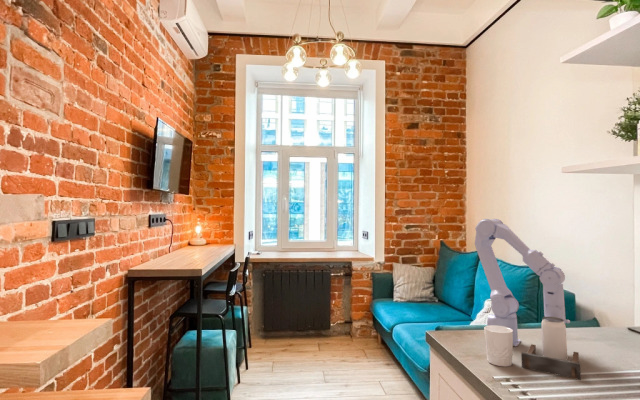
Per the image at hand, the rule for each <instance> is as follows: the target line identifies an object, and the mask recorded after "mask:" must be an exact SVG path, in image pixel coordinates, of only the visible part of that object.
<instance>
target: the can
mask: <svg viewBox="0 0 640 400" xmlns="http://www.w3.org/2000/svg"><path fill="white" fill-rule="evenodd" d="M540 325H541V345H542V346H541V347H542V356H545V357H550V358H555V359H561V360H566V361H568V343H567V342H568V341H567V325H566V323H565V324H564V320H563V319H561V318H557V317H545V316H543V317H542V321H541V324H540ZM565 325H566V326H565Z"/></svg>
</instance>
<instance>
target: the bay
mask: <svg viewBox="0 0 640 400" xmlns="http://www.w3.org/2000/svg"><path fill="white" fill-rule="evenodd" d="M579 358H580V357H579V352H577V351H573V354H572V359H571V361H570V360H561V359H555V358H550V357H545V356H543V355H540V354H538V355H537V346H536V344H532V343H531V344H530V346H529V348H528V350H527V352H523V351H522V352H521V368H524V369H529V370H532V371H538V372H543V373H548V374H553V375H556V376H560V377H567V378H570V379H576V380H580V381H581V380H582V374H581V373H582V372H581V362H580V359H579Z"/></svg>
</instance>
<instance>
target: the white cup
mask: <svg viewBox="0 0 640 400" xmlns="http://www.w3.org/2000/svg"><path fill="white" fill-rule="evenodd" d="M483 330H484V331H483V332H484V341H485V342H484V343H485V350H486V359H487V362H488V363H489V364H491V365H494V366H499V367H511V366H512V365H513V351H514V350H513V348H514V346H513V330H512V329H510V328H508V327H504V326H496V325H489V326H487V325H486V326H484V327H483Z"/></svg>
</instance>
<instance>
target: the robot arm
mask: <svg viewBox="0 0 640 400" xmlns="http://www.w3.org/2000/svg"><path fill="white" fill-rule="evenodd" d="M474 239H475V240H474V246H475V249H476V252H477V255H478V257H479V260H480V264H481V265H482V269H483V270H484V271H483V272H484V274H485V277H486V280H487V282H488V286H489V289H490V290H491V291H490V298H489V299H490V303H491V305H490V309H491V311H492V312H493V314H488V315H487V322H486V323H487V324H486V326H489V325H496V326H504V327H508V328H510V329H512V330H513V347H518V346H519V344H520V343H521V341H522V340H521V339H520V338H519V337H518V336H519V334H518V333H519V332H518V316H517V313H516V312H518V310H519V309H520V304H519V303H520V302H519V301H518V300H517V299H516V298H515V296H514V295H513V293H512V291H511V290H510V289H509V288H508V286H507V284H506V282H505V280H504V277H503V274H502V273H503V272H502V271H501V269H500V266H499V263H498V260H497V258H496V255H495V253H494V250H493V247H492V245H493V243H494V242H495V240H496V239H500V240H504V241H505V242H506V243H507V244H508V245H510V247H512V248H513V249H514V250H515V251H517V253H519V255H521V256H522V262H523V263H524V264H525V265H527V267H529V268H530V269H531V271H533V272H534V273H535V274H536V275H537V276H538V277H539V281H540V283H542V286H543V287H542V289H543V290H542V292H543V293H542V294H543V310H544V311H543V313H544V314H543V315H544V317H557V318H561V319H563V320H564V324H565V326H566V327H567V325H566V324H570V323H571V320H569V319H566V307H565V305H566V304H565V292H564V291H565V290H564V282H565V280H566V275H565V273H564V272H563V271H562V269H561V268H560V267H557V266H556V265H555V264H554V263H553V262H552V263H551V262H550V261H549V260H548V259H547V258H546V257H544V253H543V252H542V251H538V250H537V249H530V247H528V246H527V244H525V242H524V241H522V240H521V238H520V237H519V236H517V234H516V233H515V232H514V231H513V230H512V229H511V228H510V227H509V226H508V225H507V224H505V223H504V222H503V221H502V220H501V219H498V218H491V219H489V218H483V219H481V220H479V222H478V223H477V224H476V226H475V238H474Z"/></svg>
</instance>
